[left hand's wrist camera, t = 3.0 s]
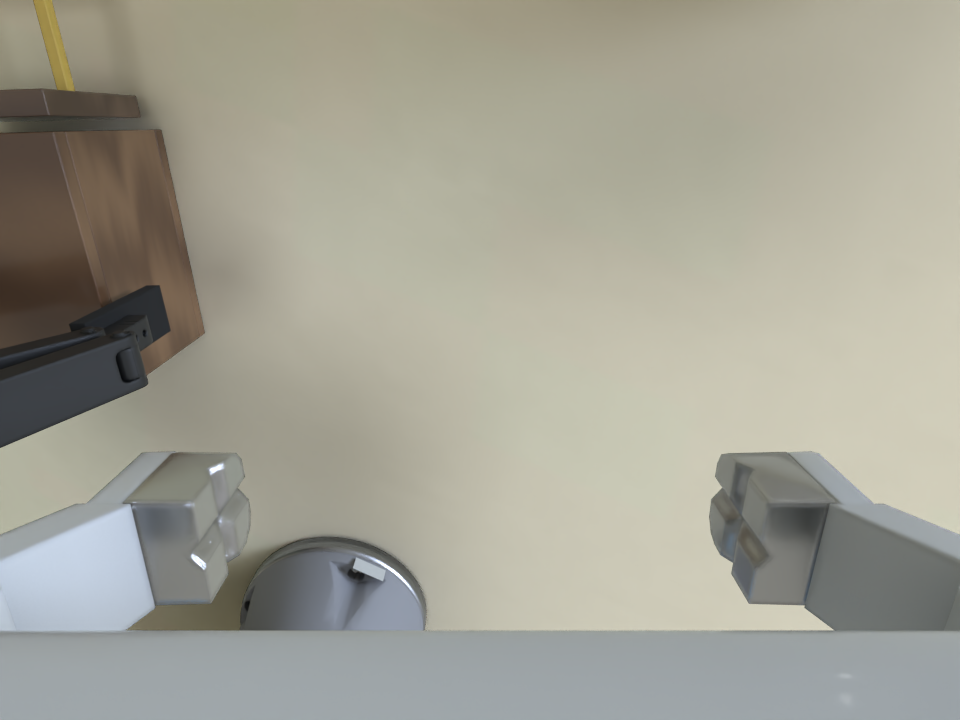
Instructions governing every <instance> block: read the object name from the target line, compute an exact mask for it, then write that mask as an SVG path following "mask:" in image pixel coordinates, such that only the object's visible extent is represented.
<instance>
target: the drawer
mask: <svg viewBox="0 0 960 720" xmlns="http://www.w3.org/2000/svg"><path fill="white" fill-rule="evenodd" d="M33 2H34V5H35V9H36V13H37V16H38V20H39V24H40V27H41V31H42V35H43V39H44V42H45V46H46V50H47V53H48V57H49V61H50V65H51V68H52V72H53V76H54V79H55V83H56V87H57V90H53V89H15V90H0V122H21V121H52V120H83V119H114V118H140V117H141V116H140V112H139V107H138V103H137V98H136V96H130V95H117V94H104V93H92V92H79V91H75V88H74V84H73V81H72V77H71V73H70V69H69V65H68V61H67V57H66V54H65V50H64V46H63V42H62V38H61V34H60V30H59V27H58V23H57V19H56V15H55V11H54V7H53V4H52V0H33Z"/></svg>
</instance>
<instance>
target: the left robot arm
mask: <svg viewBox="0 0 960 720" xmlns="http://www.w3.org/2000/svg"><path fill="white" fill-rule="evenodd" d="M244 477H245V474H244V469H243V464H242V459H241V458H240V457H239V456H238V455H237V454H236V453H207V452H175V451H168V452H146V453H141V454H140V455H139V456H138V457H137V458H136V459H135V460H134V461H132V462H131V463H130V464H129V465H128V466H127V467H126V468H125V469H124V470H123V471H122V472H120V473H119V474H118V475H117V476H116V477H115V478H114V479H113V480H112V481H111V482H109V483H108V484H107V485H106V486H105V487H104V488H103V489H102V490H101V491H100V492H98V493H97V494H96V495H95V496H94V497H93V498H92V499H91V500H90V501H89V502H87V503H86V504H74V505H72V506H69V507H67V508H65V509H62V510H60V511H57V512H55V513H52V514H50V515H47V516H45V517H42V518H40V519H38V520H35V521H33V522H30V523H28V524H25V525H23V526H20V527H18V528H15V529H13V530H11V531H8V532H6V533H3V534H1V535H0V720H960V535H959V534H957V533H954V532H952V531H949V530H947V529H944V528H942V527H939V526H937V525H935V524H932V523H930V522H927V521H925V520H922V519H920V518H917V517H915V516H913V515H910V514H908V513H905V512H903V511H900V510H898V509H895V508H893V507H890V506H888V505H886V504H874V503H873V502H872V501H870V500H869V499H868V498H867V497H866V496H865V495H864V494H863V493H862V492H861V491H859V490H858V489H857V488H856V487H855V486H854V485H853V484H852V483H851V482H850V481H848V480H847V479H846V478H845V477H844V476H843V475H842V474H841V473H840V472H839V471H838V470H836V469H835V468H834V467H833V466H832V465H831V464H830V463H829V462H828V461H827V460H825V459H824V458H823V457H822V456H821V455H820V454H819V453H815V452H812V451H804V452H762V453H727V454H721V456H720V459H719V461H718V463H717V468H716V474H715V477H716V479H717V480H718V482H719V483H720V485H721V486H722V489H721V490H720V491H719V492H718V493H717V494H716V495H715V496H714V497H713V498H712V499H711V506H710V514H709V519H710V530H711V535H712V538H713V541H714V544H715V546H716V548H717V550H718V551H719V553H720V555H721V556H723V557H725V558H726V559H728V560H729V561H731V562H733V567H732V573H731V574H732V576H733V577H734V579H735V581H736V583H737V584H738V586H739V588H740V589H741V591H742V593H743V594H744V596H745V598H746V599H747V601H748V603H749V604H777V605H805V607H804V608H806V609H807V610H808V611H810V612H811V613H812V614H814V615H815V616H816V617H818V618H819V619H820V620H822V621H823V622H824V623H826V624H827V625H828V626H830V627H831V628H832V629H834V630H835V631H203V630H127V629H128V628H129V627H131V626H132V625H133V624H135V623H136V622H137V621H139V620H140V619H141V618H143V617H144V616H145V615H147V614H148V613H149V612H151V611H152V610H153V609H155V605H182V604H211V603H212V601H213V600H214V598H215V596H216V594H217V593H218V591H219V589H220V588H221V586H222V584H223V583H224V581H225V579H226V577H227V576H228V574H229V573H228V567H227V562H229V561H231V560H232V559H234V558H235V557H237V556H239V555H240V553H241V551H242V550H243V548H244V546H245V544H246V542H247V538H248V533H249V529H250V505H249V499H248V498H247V497H246V496H245V495H244V494H243V493H242V492H241V491H240V490H239V489H238V486H239V485H240V483H241V482H242V480H243V479H244Z"/></svg>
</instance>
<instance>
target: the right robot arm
mask: <svg viewBox="0 0 960 720" xmlns="http://www.w3.org/2000/svg"><path fill="white" fill-rule="evenodd" d="M69 326H70V330H71V332H68V333H64V334H60V335H56V336H52V337H48V338H44V339H39V340H35V341H31V342H27V343H23V344H19V345H15V346H10V347H6V348H2V349H0V448H1V447H3V446H6V445H8V444H10V443H13V442H15V441H18V440H20V439H22V438H25V437H27V436H29V435H32V434H34V433H37V432H39V431H41V430H44V429H46V428H48V427H51V426H53V425H55V424H58V423H60V422H63V421H65V420H67V419H70V418H72V417H74V416H77V415H79V414H81V413H84V412H86V411H89V410H91V409H93V408H96V407H98V406H100V405H103V404H105V403H108V402H110V401H112V400H115V399H117V398H119V397H122V396H124V395H126V394H129V393H131V392H134V391H136V390H138V389H141V388H143V387H145V386H146V385H147V384H148V379H147V376H146V372H145V368H144V364H143V361H142V357H141V353H140V351H142V350H144V349H145V348H146V347H148V346H149V345H151V344H152V343H154V342H155V341H157V340H158V339H160V338H161V337H162V336H164V335H165V334H167V333H168V332H170V331H171V329H170V325H169V321H168V317H167V313H166V309H165V305H164V301H163V297H162V292H161V288H160V285H146V286H144V287H142V288H140V289H138V290H136V291H134V292H132V293H130V294H128V295H126V296H124V297H122V298H120V299H118V300H116V301H114V302H112V303H110V304H108V305H106V306H104V307H102V308H100V309H98V310H96V311H94V312H92V313H90V314H88V315H86V316H84V317H82V318H80V319H78V320H76V321H74V322H72V323H70V324H69ZM240 623H241V626H240V631H424V630H425V623H426V604H425V599H424V596H423V593H422V591H421V589H420V586H419V584H418V583H417V581H416V580H415V578H414V577H413V576H412V574H411V573H410V572H409V571H408V570H407V569H406V568H405V567H404V566H403V565H402V564H401V563H400V562H399V561H398V560H396V559H395V558H393V557H392V556H391V555H389V554H387V553H386V552H384V551H382V550H380V549H378V548H376V547H374V546H371V545H369V544H366V543H363V542H359V541H355V540H351V539H345V538H336V537H320V538H311V539H306V540H301V541H298V542H295V543H292V544H289V545H287V546H285V547H283V548H281V549H279V550H278V551H276V552H275V553H273V554H272V555H271V556H269V557H268V558H267V559H266V560H265V561H264V562H263V563H262V564H261V566H260V567H259V568H258V570H257V572H256V573H255V575H254V577H253V579H252V581H251V583H250V584H249V586H248V588H247V590H246V593H245V595H244V599H243V602H242V609H241V619H240Z"/></svg>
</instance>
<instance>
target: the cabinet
mask: <svg viewBox="0 0 960 720" xmlns="http://www.w3.org/2000/svg"><path fill="white" fill-rule="evenodd" d="M146 285H160V288H161V292H162V297H163V301H164V305H165V309H166V313H167V317H168V321H169V325H170V329H171V331H170V332H168V333H167V334H165V335H164V336H162V337H161V338H160V339H158V340H157V341H155V342H154V343H152V344H151V345H149V346H148V347H146V348H145V349H144V350H142V351H140V353H141V357H142V361H143V364H144V368H145V372H146V375H148V374H149V373H151V372H152V371H153V370H155V369H156V368H157V367H159V366H160V365H162V364H163V363H164V362H166V361H167V360H169V359H170V358H171V357H173V356H174V355H175V354H177V353H178V352H180V351H181V350H182V349H184V348H185V347H186V346H188V345H189V344H191V343H192V342H193V341H195V340H196V339H197V338H199V337H200V336H202V335H203V334H204V333H205V332H204V327H203V323H202V318H201V313H200V309H199V304H198V299H197V295H196V290H195V285H194V281H193V276H192V271H191V267H190V262H189V257H188V253H187V248H186V243H185V239H184V234H183V229H182V225H181V220H180V215H179V211H178V206H177V202H176V197H175V192H174V188H173V183H172V178H171V174H170V169H169V164H168V160H167V155H166V150H165V146H164V141H163V136H162V132H161V130H112V131H54V132H22V133H0V349H2V348H6V347H10V346H15V345H19V344H23V343H27V342H31V341H35V340H39V339H44V338H48V337H52V336H56V335H60V334H64V333H68V332H71V330H70V326H69V324H70V323H72V322H74V321H76V320H78V319H80V318H82V317H84V316H86V315H88V314H90V313H92V312H94V311H96V310H98V309H100V308H102V307H104V306H106V305H108V304H110V303H112V302H114V301H116V300H118V299H120V298H122V297H124V296H126V295H128V294H130V293H132V292H134V291H136V290H138V289H140V288H142V287H144V286H146Z"/></svg>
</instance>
